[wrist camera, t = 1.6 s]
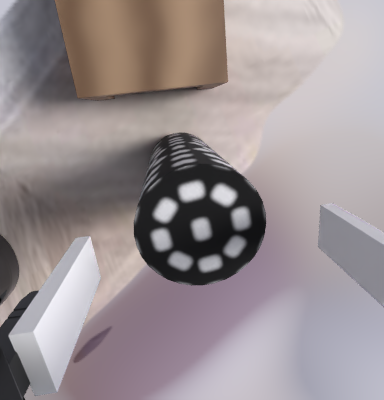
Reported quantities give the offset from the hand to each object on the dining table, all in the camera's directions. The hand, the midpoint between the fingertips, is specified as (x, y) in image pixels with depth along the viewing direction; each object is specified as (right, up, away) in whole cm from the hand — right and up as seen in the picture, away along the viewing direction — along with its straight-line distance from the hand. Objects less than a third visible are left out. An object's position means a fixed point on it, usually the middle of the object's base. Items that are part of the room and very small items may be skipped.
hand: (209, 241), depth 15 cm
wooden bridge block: (-6, +22, +15) cm, 27 cm away
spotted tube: (-2, +7, +20) cm, 22 cm away
